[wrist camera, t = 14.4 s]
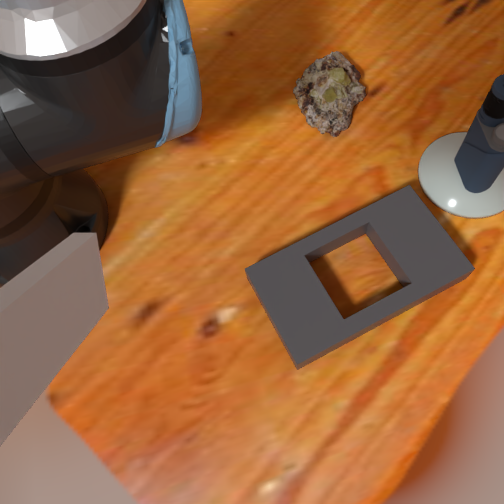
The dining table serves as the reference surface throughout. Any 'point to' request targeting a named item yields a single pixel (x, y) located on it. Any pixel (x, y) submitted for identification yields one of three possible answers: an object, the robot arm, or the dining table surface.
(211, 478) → the dining table surface
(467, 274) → the block
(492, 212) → the coaster
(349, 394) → the dining table surface
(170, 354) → the dining table surface
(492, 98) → the vaping device
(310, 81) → the mineral rock
